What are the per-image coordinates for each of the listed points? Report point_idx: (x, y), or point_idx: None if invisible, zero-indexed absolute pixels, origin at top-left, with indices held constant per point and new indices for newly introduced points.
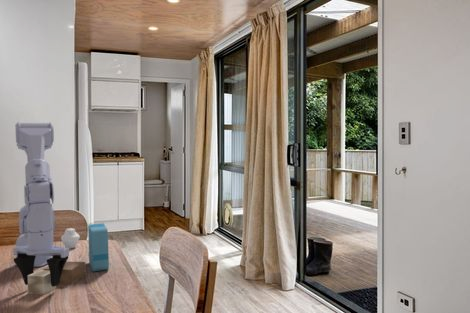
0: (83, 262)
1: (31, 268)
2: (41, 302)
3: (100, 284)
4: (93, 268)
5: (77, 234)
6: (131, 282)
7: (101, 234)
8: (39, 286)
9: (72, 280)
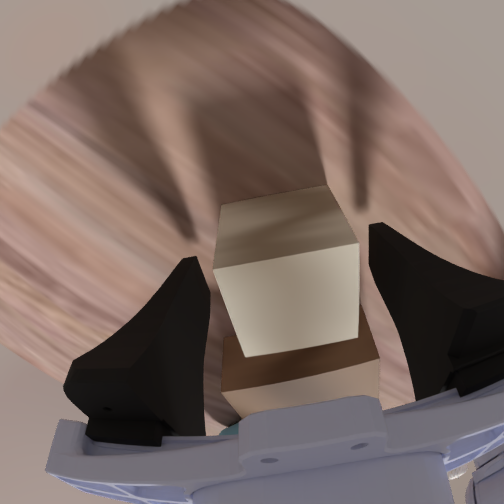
0: None
1: (401, 320)
2: (124, 121)
3: None
4: None
5: None
6: (64, 378)
7: None
8: (249, 220)
9: (224, 350)
